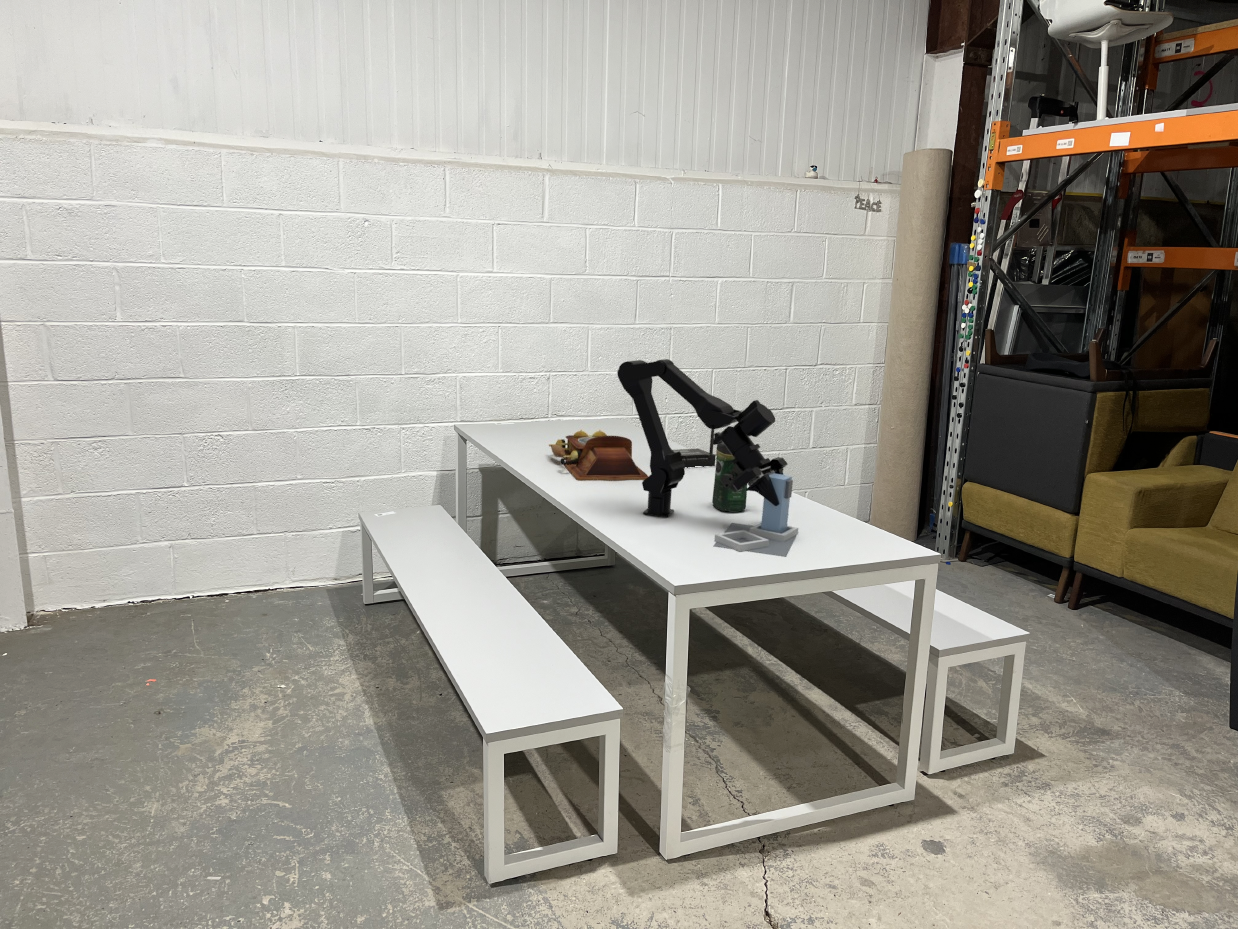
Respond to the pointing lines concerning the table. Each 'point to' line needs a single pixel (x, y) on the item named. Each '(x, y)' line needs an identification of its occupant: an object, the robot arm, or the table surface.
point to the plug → (778, 515)
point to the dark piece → (698, 455)
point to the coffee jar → (720, 495)
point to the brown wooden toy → (598, 457)
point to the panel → (767, 550)
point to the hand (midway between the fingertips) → (781, 503)
